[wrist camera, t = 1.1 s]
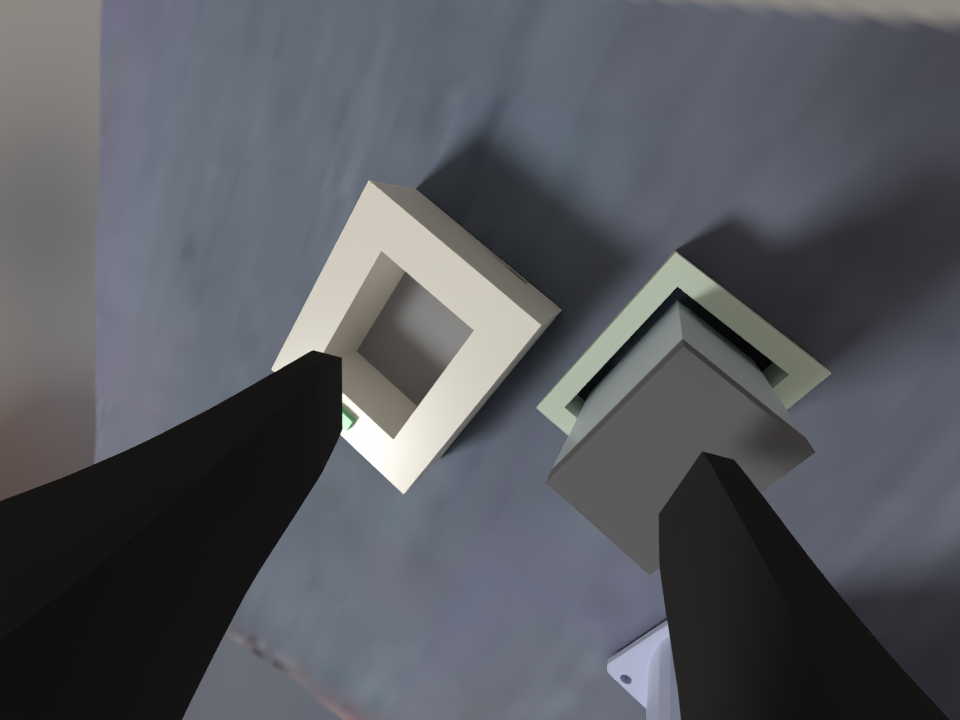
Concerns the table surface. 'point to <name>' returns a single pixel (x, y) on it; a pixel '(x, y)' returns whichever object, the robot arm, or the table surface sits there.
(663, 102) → the table surface
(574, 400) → the pale green rectangular frame
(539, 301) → the frame
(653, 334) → the plug
